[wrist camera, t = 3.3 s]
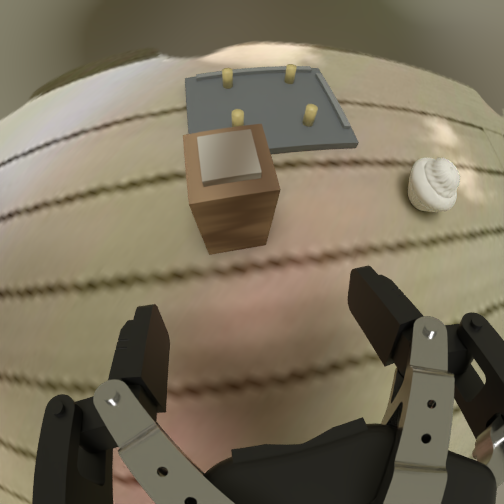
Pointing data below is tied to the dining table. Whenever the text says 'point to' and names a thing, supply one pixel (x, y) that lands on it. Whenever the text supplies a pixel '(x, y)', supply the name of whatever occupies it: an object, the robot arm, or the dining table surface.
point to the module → (231, 186)
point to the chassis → (271, 106)
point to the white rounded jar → (433, 184)
